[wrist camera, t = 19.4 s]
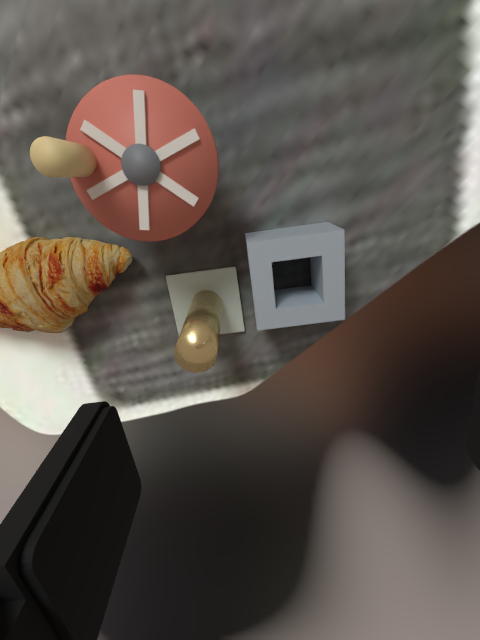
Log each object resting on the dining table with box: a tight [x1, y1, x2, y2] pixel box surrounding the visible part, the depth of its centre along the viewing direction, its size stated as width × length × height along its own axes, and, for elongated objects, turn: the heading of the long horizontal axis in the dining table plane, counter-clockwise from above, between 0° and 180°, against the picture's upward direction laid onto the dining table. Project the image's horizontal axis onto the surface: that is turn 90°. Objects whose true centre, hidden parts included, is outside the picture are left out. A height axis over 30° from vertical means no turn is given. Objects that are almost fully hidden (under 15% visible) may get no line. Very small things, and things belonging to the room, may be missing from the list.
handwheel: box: [30, 75, 219, 241], centre depth 25 cm, size 12×12×6 cm
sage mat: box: [166, 266, 245, 335], centre depth 39 cm, size 8×8×1 cm
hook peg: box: [174, 290, 223, 373], centre depth 34 cm, size 4×4×12 cm
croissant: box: [0, 237, 133, 333], centre depth 36 cm, size 21×10×8 cm, turn 110°
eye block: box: [245, 222, 345, 331], centre depth 35 cm, size 9×9×6 cm
